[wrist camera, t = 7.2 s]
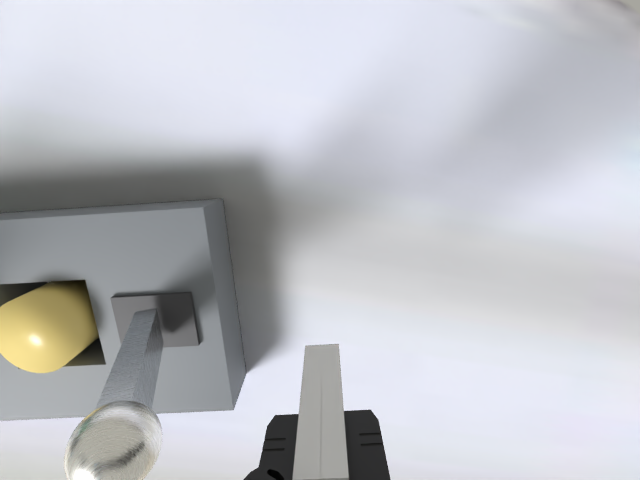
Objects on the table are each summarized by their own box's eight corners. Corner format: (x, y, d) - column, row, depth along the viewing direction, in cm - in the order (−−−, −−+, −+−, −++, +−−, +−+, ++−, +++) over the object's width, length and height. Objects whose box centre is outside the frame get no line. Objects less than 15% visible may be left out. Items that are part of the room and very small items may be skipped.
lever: (127, 355, 21) (62, 537, 11) (117, 310, 20) (36, 459, 10) (179, 343, 22) (165, 501, 12) (171, 300, 21) (149, 427, 11)
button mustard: (53, 341, 25) (4, 375, 22) (35, 277, 24) (-20, 301, 20) (119, 337, 25) (82, 371, 21) (105, 273, 24) (62, 296, 20)
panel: (-93, 390, 28) (-165, 431, 24) (-162, 223, 25) (-260, 237, 21) (246, 373, 28) (232, 413, 23) (222, 198, 24) (201, 208, 20)
